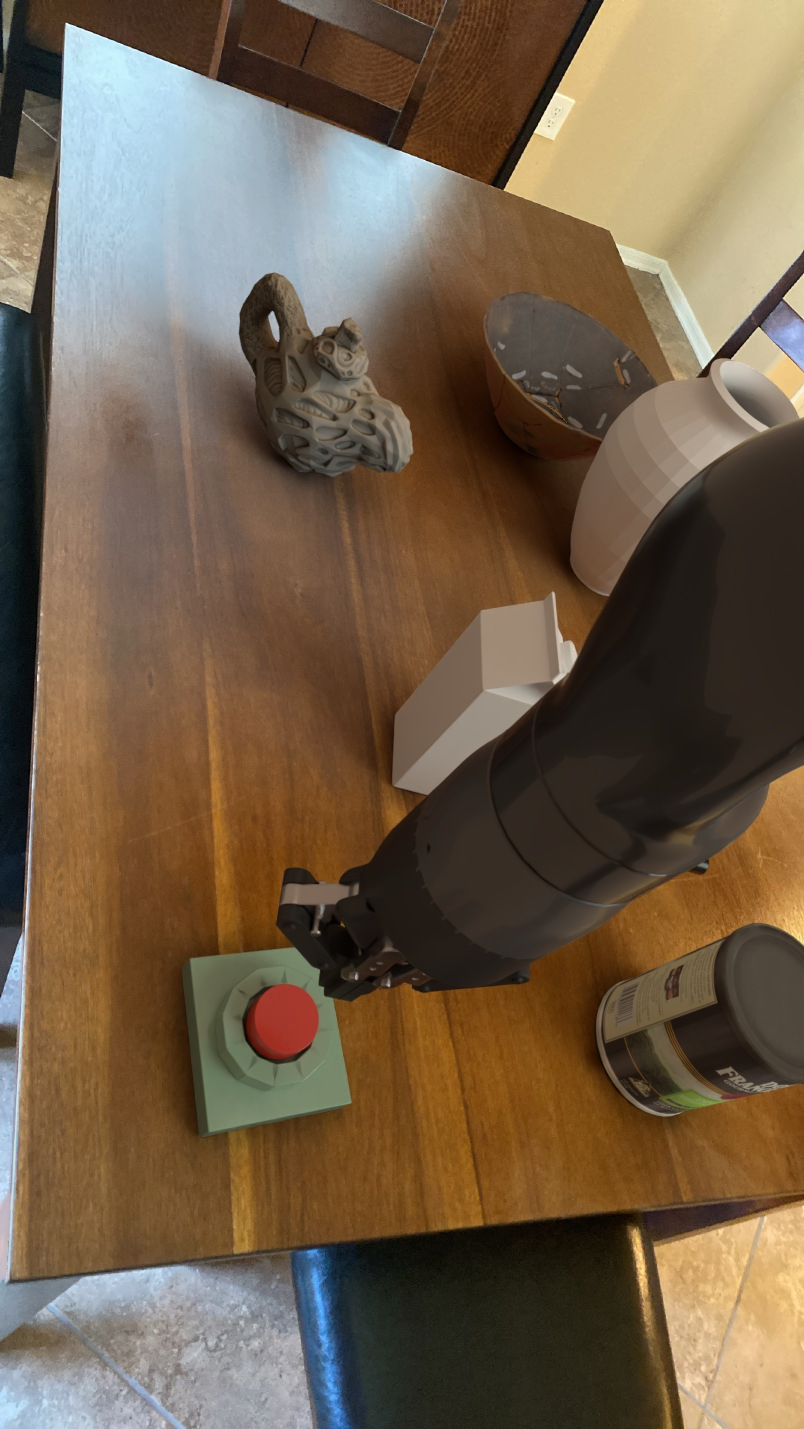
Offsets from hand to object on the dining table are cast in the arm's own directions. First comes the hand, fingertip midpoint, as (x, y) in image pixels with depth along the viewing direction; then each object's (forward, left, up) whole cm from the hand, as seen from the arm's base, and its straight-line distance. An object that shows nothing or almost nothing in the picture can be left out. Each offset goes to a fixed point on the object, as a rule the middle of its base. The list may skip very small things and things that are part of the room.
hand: (338, 980), depth 46 cm
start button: (0, 0, -9) cm, 9 cm away
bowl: (+66, -45, -13) cm, 81 cm away
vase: (+44, -46, -13) cm, 65 cm away
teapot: (+55, -12, -13) cm, 58 cm away
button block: (0, 0, -13) cm, 13 cm away
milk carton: (+20, -18, -13) cm, 30 cm away
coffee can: (-5, -31, -13) cm, 34 cm away
